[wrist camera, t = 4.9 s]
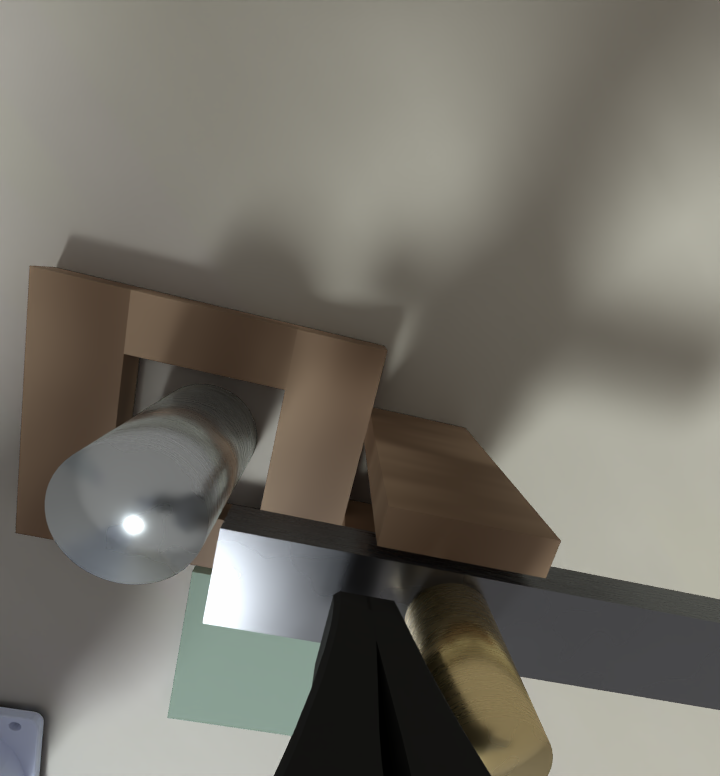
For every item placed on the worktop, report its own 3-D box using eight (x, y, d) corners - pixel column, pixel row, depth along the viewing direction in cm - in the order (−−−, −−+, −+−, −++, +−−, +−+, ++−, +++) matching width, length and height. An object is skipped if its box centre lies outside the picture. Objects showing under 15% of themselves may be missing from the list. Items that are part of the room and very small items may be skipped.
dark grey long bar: (215, 591, 10) (138, 774, 6) (232, 504, 10) (158, 648, 6) (712, 678, 12) (896, 875, 8) (751, 605, 11) (971, 778, 7)
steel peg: (147, 469, 16) (40, 569, 11) (160, 373, 16) (50, 426, 10) (247, 488, 17) (195, 596, 11) (265, 396, 16) (219, 460, 10)
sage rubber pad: (171, 709, 19) (167, 717, 19) (195, 565, 18) (192, 571, 17) (356, 736, 20) (356, 745, 20) (398, 601, 18) (399, 608, 18)
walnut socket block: (38, 515, 17) (-198, 692, 9) (55, 267, 14) (-239, 248, 7) (415, 585, 18) (462, 785, 11) (484, 369, 16) (601, 440, 9)
